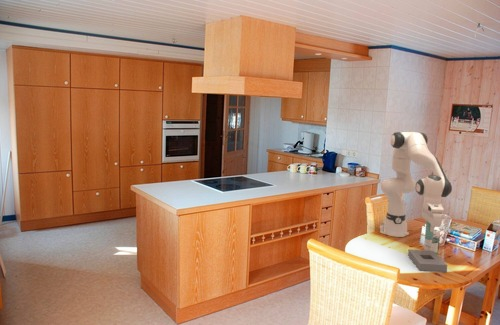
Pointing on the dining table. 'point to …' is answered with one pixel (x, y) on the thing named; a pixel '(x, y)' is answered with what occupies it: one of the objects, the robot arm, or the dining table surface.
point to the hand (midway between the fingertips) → (429, 229)
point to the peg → (428, 232)
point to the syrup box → (433, 242)
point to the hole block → (427, 261)
